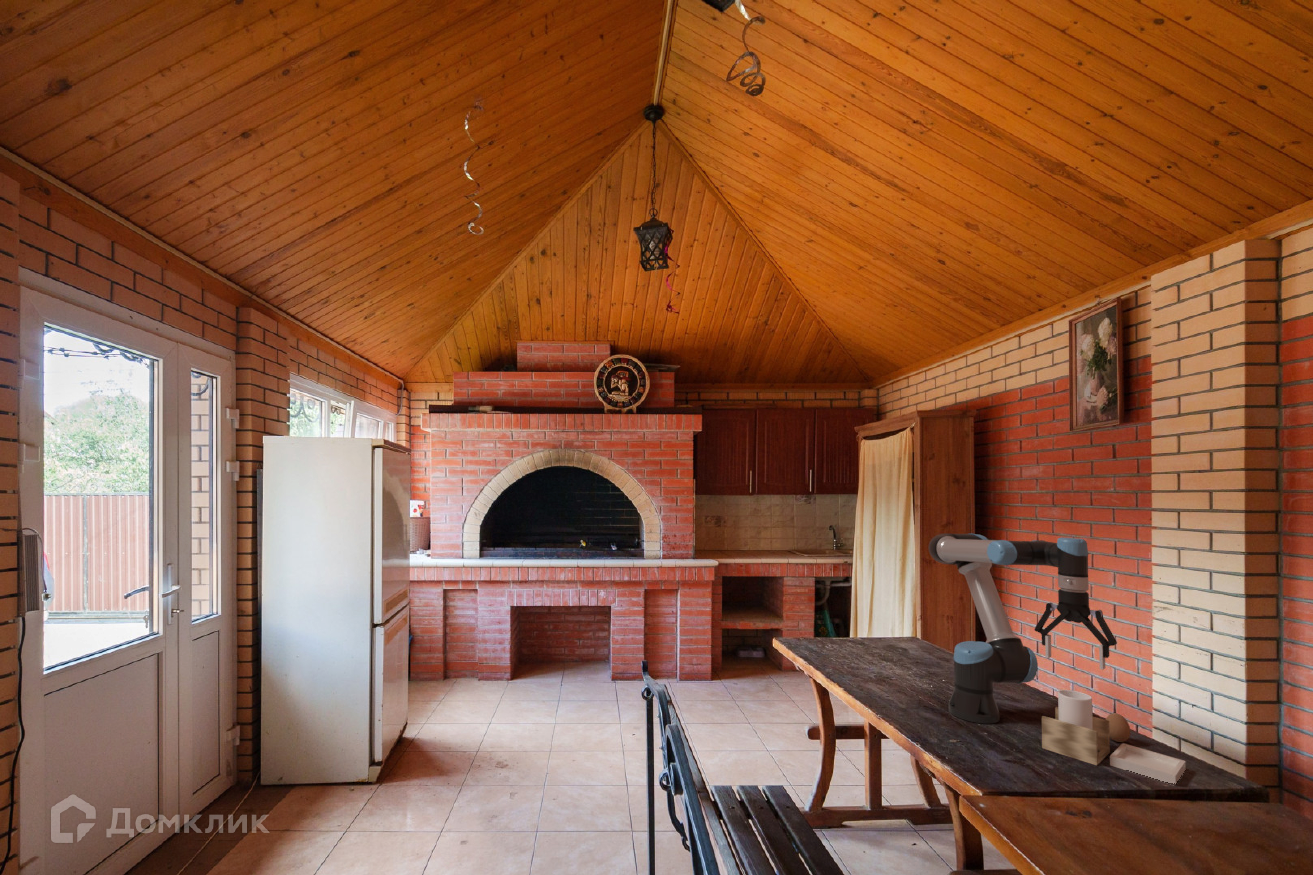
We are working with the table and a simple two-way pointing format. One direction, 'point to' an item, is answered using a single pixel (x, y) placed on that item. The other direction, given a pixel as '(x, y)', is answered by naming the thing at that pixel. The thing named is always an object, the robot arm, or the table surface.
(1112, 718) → the egg
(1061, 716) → the cup
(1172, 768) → the tray
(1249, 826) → the table surface
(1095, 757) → the holder
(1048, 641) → the robot arm
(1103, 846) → the table surface
